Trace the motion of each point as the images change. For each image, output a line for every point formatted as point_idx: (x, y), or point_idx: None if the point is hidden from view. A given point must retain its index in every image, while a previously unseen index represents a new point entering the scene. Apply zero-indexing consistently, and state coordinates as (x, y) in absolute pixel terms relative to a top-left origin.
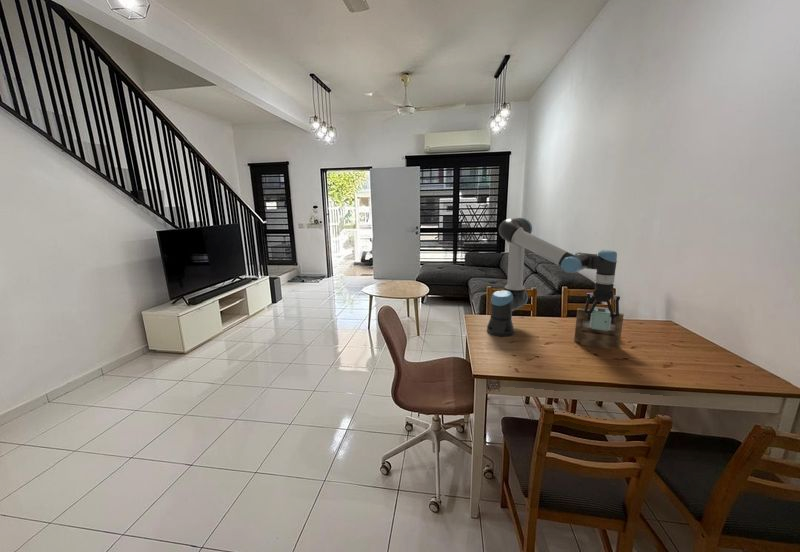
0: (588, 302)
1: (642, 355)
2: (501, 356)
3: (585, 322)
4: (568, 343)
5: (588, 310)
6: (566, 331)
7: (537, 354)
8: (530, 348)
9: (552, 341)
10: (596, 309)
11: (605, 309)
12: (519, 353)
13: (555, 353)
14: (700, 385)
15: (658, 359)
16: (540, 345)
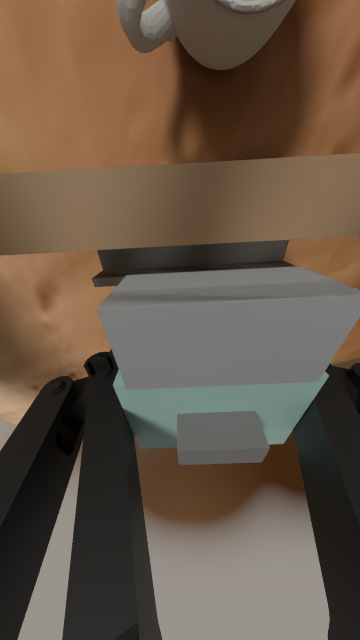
0: (7, 620)
1: (321, 250)
2: (22, 398)
3: (113, 283)
4: (97, 263)
5: (58, 246)
6: (14, 50)
7: (67, 367)
8: (34, 348)
9: (47, 272)
10: (162, 403)
11: (280, 383)
12: (36, 378)
13: (95, 348)
14: (354, 356)
15: (357, 260)
16: (40, 321)
